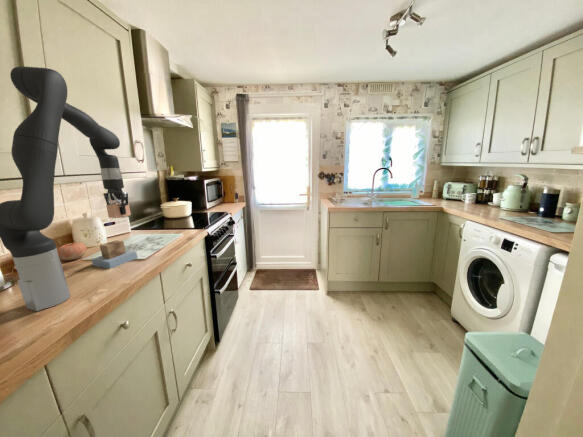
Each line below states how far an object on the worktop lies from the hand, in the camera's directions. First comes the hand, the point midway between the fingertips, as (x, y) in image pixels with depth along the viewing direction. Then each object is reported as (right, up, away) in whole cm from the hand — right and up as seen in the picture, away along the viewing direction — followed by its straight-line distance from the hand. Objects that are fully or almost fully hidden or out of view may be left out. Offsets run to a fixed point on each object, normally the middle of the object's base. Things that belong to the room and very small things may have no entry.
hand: (119, 214), depth 110 cm
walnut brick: (+1, -19, -5) cm, 20 cm away
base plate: (+1, -22, -4) cm, 22 cm away
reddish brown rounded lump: (-24, -22, +2) cm, 33 cm away
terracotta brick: (0, -1, 0) cm, 1 cm away
